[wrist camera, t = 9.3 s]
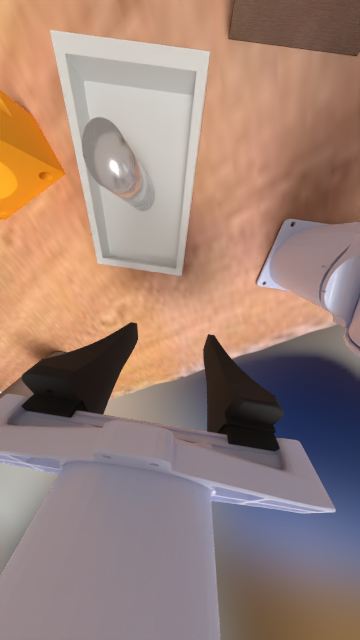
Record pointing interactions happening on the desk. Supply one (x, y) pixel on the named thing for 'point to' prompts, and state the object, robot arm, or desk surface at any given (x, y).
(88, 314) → the desk surface
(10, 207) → the pipe clamp
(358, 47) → the socket block
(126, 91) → the tray
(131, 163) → the pin
